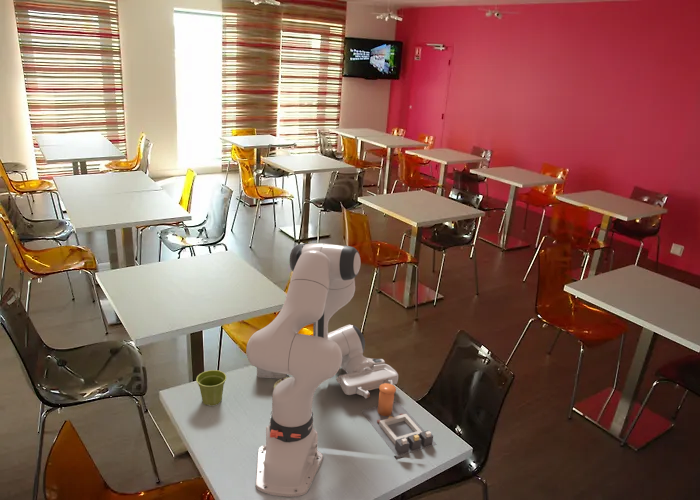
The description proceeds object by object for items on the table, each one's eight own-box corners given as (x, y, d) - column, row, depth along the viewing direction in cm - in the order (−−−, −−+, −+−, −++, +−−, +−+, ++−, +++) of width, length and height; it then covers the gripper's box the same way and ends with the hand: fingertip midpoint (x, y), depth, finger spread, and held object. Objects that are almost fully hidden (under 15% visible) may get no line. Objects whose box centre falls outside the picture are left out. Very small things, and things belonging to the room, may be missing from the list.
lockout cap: (393, 417, 171) (396, 394, 168) (376, 415, 171) (379, 392, 168) (392, 407, 176) (395, 384, 173) (376, 405, 176) (379, 382, 173)
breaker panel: (436, 447, 161) (438, 433, 159) (396, 459, 155) (398, 445, 153) (397, 403, 180) (398, 390, 178) (360, 412, 174) (361, 399, 172)
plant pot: (192, 398, 175) (191, 375, 172) (218, 388, 181) (218, 366, 178) (205, 413, 168) (204, 389, 166) (231, 402, 174) (231, 380, 171)
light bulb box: (288, 369, 195) (289, 343, 191) (286, 379, 189) (287, 353, 185) (259, 367, 195) (259, 341, 191) (256, 377, 189) (256, 351, 185)
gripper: (334, 369, 181) (352, 391, 169) (386, 358, 190) (407, 378, 178) (333, 384, 183) (351, 408, 171) (385, 373, 192) (405, 394, 180)
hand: (380, 393), depth 175 cm, fingers open, 8 cm apart
